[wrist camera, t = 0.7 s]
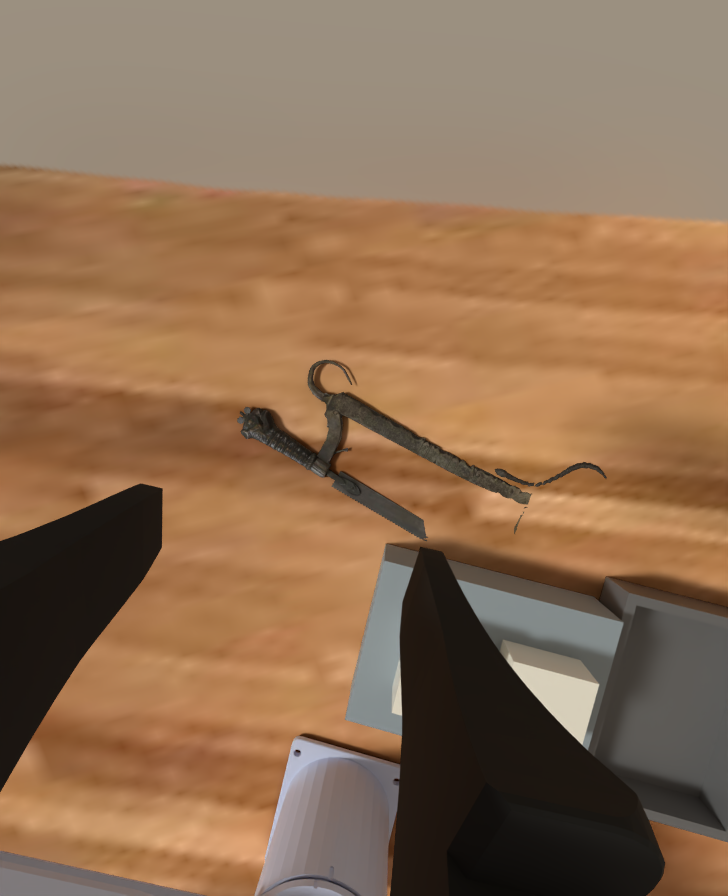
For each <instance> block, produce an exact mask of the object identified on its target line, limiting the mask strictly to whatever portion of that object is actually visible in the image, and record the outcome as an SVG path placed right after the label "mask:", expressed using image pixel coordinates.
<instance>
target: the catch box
mask: <svg viewBox="0 0 728 896" xmlns="http://www.w3.org/2000/svg"><path fill="white" fill-rule="evenodd" d="M599 602H600V603H602V604H603V605H604V606H605V607H606V608H607V609H609V610H610V611H611V612H612V613H613V614H614V615H616V616H617V617H618V618H619V619H620V620H621V621H622V622H624V623H623V627H622V631H621V634H620V638H619V641H618V645H617V648H616V652H615V656H614V659H613V663H612V666H611V670H610V673H609V677H608V680H607V684H606V688H605V691H604V695H603V698H602V702H601V705H600V709H599V713H598V716H597V720H596V723H595V727H594V730H593V734H592V738H591V741H590V745H589V748H588V751H589V752H590V753H591V754H592V755H593V756H594V757H596V758H597V759H598V760H599V761H600V762H601V763H602V764H604V765H605V766H606V767H607V768H608V769H609V770H610V771H612V772H613V773H614V774H615V775H616V776H617V777H618V778H619V779H621V780H622V781H623V782H624V783H625V784H626V785H627V786H629V787H630V788H631V789H632V790H633V791H634V792H635V793H637V796H638V798H639V800H640V802H641V804H642V806H643V809H644V811H645V813H646V815H647V817H648V820H652V821H655V822H659V823H662V824H666V825H669V826H673V827H676V828H680V829H683V830H687V831H690V832H694V833H697V834H701V835H704V836H708V837H711V838H715V839H718V840H722V841H725V842H728V607H725V606H721V605H717V604H713V603H709V602H705V601H701V600H697V599H693V598H689V597H685V596H681V595H677V594H673V593H669V592H665V591H662V590H658V589H654V588H650V587H646V586H642V585H638V584H634V583H630V582H626V581H622V580H618V579H614V578H610V577H606V578H605V582H604V586H603V589H602V593H601V596H600V600H599Z"/></svg>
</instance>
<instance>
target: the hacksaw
mask: <svg viewBox="0 0 728 896" xmlns="http://www.w3.org/2000/svg"><path fill="white" fill-rule="evenodd" d="M323 363H331V364H334V365H336V366H338V367H340V368H341V369H342V370H343V371H344V373H345V375H346V377H347V378H348V380H349V382H350V384H351V385H352V383H351V381H350V378H349V376H348V374H347V373H346V371H345V369H344V368H343V367H342V366H340V365H339V364H337V363H335V362H333V361H329V360H323V361H319V362H316V363H315V364H314V365H312V367H311V368H310V370H309V375H308V386H309V388H310V390H311V391H312V393H313V394H314V395H315V396H316V397H317V398H318V399H320V400H321V401H322V402H325V403H326V405H327V410H326V412H325V417H326V418H327V422H328V425H327V427H329V431H328V435H327V439H326V441H325V443H324V445H323V446H322V448H321V450H320V452H319V454H318V455H317V454H316V453H312V452H311V451H310V450H309V449H306V447H305V446H303V445H301V444H300V443H299V442H297V441H296V440H294V439H293V438H291V437H290V436H289V435H288V434H287V433H285V432H283V431H281V430H280V429H279V428H278V427H277V426H276V424H275V423H274V421H273V418H272V416H271V414H270V413H269V412H268V411H267V410H264V411H263V410H262V409H260V408H256V409H255V410H253V411H252V412H251V413H250V411H251V410H250V408H249V407H246V408H245V409H244V412H245V413H246V414H244V413H243V412H240V414H241V415H242V416H243V417H239V418H238V420H237V421H238V423H240V424H241V423H243V422H244V425H243V429H242V430H241V434H242V435H243V436H244V437H245V438H246V439H249V438H254V439H256V440H259V441H260V442H262V443H265V444H266V445H268V446H270V447H272V448H273V449H275V450H277V451H278V452H281V453H283V454H284V455H286V456H288V457H290V458H291V459H292V460H295V461H296V462H298V463H299V464H301V465H303V466H304V467H305V468H306V469H307V470H311V471H312V472H314V473H315V474H317V475H318V476H320V477H322V478H323V477H324V476H325V475H327V476H329V477H330V478H332V479H334V480H335V481H334V483H333V485H332V487H334V488H336V489H337V490H339V491H341V492H342V493H344V494H345V495H347V496H350V498H352V499H355V501H358V502H360V503H361V504H363V506H366V507H368V508H369V509H371V510H373V511H374V512H376V513H377V514H378V513H379V515H382V517H385V518H387V520H390V521H392V522H393V523H395V524H396V525H398V526H400V527H401V528H403V529H406V531H409V532H410V533H411V534H414V536H417V537H419V538H420V539H422V540H424V538H428V537H426V533H425V527H424V521H423V520H422V519H421V518H419V517H417V516H416V515H414V514H412V513H411V512H409V511H407V510H405V509H404V508H402V507H400V506H399V505H397V504H395V503H394V502H392V501H390V500H389V499H387V498H385V497H383V496H382V495H380V494H378V493H377V492H375V491H373V490H372V489H370V488H368V487H367V486H365V485H363V484H362V483H360V482H358V481H356V480H355V479H353V478H351V477H350V476H348V475H346V474H345V473H343V472H341V471H340V473H339V475H336V474H335V473H333V472H332V471H331V470H330V469H329V468H330V466H331V463H329V462H330V460H331V458H332V457H333V454H336V453H339V452H341V451H348V448H346V449H343V450H340V451H337V452H335V451H336V449H337V447H338V445H339V442H340V440H341V437H342V428H343V420H342V415H344V416H346V417H348V418H350V419H352V420H354V421H356V422H358V423H359V424H361V425H363V426H365V427H367V428H369V429H370V430H372V431H374V432H376V433H378V434H380V435H382V436H383V437H385V438H387V439H389V440H391V441H393V442H395V443H397V444H399V445H400V446H403V447H404V448H406V449H408V450H410V451H412V452H414V453H416V454H417V455H419V456H421V457H423V458H425V459H427V460H429V461H430V462H433V463H435V464H436V465H438V466H440V467H442V468H444V469H446V470H447V471H449V472H451V473H453V474H455V475H457V476H459V477H461V478H463V479H465V480H468V481H469V482H471V483H473V484H476V485H478V486H480V487H483V488H485V489H487V490H489V491H492V492H495V493H497V492H499V493H500V494H501V495H502V496H503V497H506V498H512V499H514V500H515V501H516V502H518V503H520V504H527V505H528V502H529V499H530V497H531V494H529V493H527V492H521V490H520V489H519V488H518V487H516V486H512V485H510V484H508V483H507V482H505V481H503V480H501V479H499V478H498V477H495V476H494V475H492V474H490V473H488V472H486V471H484V470H482V469H480V468H477V467H474V465H472V466H471V467H470V466H468V465H467V463H466V462H465V461H464V460H460V459H459V458H457V457H456V456H454V455H452V454H450V453H448V452H444V451H443V450H441V449H440V447H438V446H436V445H434V444H432V443H430V442H428V441H426V439H425V438H421V437H417V436H416V435H415V434H413V433H412V432H411V431H409V430H407V429H405V428H404V427H403V426H401V425H399V424H397V423H395V422H394V421H392V420H390V419H388V418H386V417H385V416H383V415H381V414H379V413H377V412H376V411H374V410H373V409H371V408H370V407H368V406H366V405H365V404H363V403H361V402H359V401H357V400H356V399H354V398H352V397H350V396H348V395H347V394H345V393H344V392H342V393H339V394H336V395H328V394H327V393H325V394H324V393H322V392H321V391H320V390H319V389H318V388H317V387H316V386H315V384H314V381H313V375H314V370H315V369H316V367H317V366H319V365H320V364H323ZM579 468H590V469H593V470H597V471H598V472H599V473H600V474H602V475H603V476H604V478H606V479H607V477H606V476H605V475H604V472H603V471H602V470H601V469H600V468H599V467H598V466H596V465H593V464H591V463H586V462H583V463H578V464H575V465H573V466H570V467H569V468H567V469H566V470H564V471H562V472H561V473H559V474H557V475H556V476H555V477H551V478H550V479H549V480H546V481H544V482H543V485H545V484H546V483H551V482H552V481H553V480H557V479H558V478H559V477H563V476H564V475H566V474H568V473H570V472H571V471H573V470H577V469H579ZM495 472H496V473H497V475H499V476H501V477H506V478H507V479H510V480H513V481H515V482H518V483H521V484H523V485H528V486H534V484H535V483H528V482H526V481H523V480H521V479H518V478H516V477H514V476H512V475H511V474H509V473H507V472H506V471H505V470H503V469H495ZM540 485H542V482H539V483H537V484H536V485H535V486H536V487H538V486H540ZM525 508H528V507H525ZM523 514H524V512H523ZM521 517H522V515H520V518H519V520H518V522H517V524H516V526H515V528H514V534H515V532H516V530H517V526H518V523H519V521H520V519H521ZM425 541H427V540H425Z"/></svg>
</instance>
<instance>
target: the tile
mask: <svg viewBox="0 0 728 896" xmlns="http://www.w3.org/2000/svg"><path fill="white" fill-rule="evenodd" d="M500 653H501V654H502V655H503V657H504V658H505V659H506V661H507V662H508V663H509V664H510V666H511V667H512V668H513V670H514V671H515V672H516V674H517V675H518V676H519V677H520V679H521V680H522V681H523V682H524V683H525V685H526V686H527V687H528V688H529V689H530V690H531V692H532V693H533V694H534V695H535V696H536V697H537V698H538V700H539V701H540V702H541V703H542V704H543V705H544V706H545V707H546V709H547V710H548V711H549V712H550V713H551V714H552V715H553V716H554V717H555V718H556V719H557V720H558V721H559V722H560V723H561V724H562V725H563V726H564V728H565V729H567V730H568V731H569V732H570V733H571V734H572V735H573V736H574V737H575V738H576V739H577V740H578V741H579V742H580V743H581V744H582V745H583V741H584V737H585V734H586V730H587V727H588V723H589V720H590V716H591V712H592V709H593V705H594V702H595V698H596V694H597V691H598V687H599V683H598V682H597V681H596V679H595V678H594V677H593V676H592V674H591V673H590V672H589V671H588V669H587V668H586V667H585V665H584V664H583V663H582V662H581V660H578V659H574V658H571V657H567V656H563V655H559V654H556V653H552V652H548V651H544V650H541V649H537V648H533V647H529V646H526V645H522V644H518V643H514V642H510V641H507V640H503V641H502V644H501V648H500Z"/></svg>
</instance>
